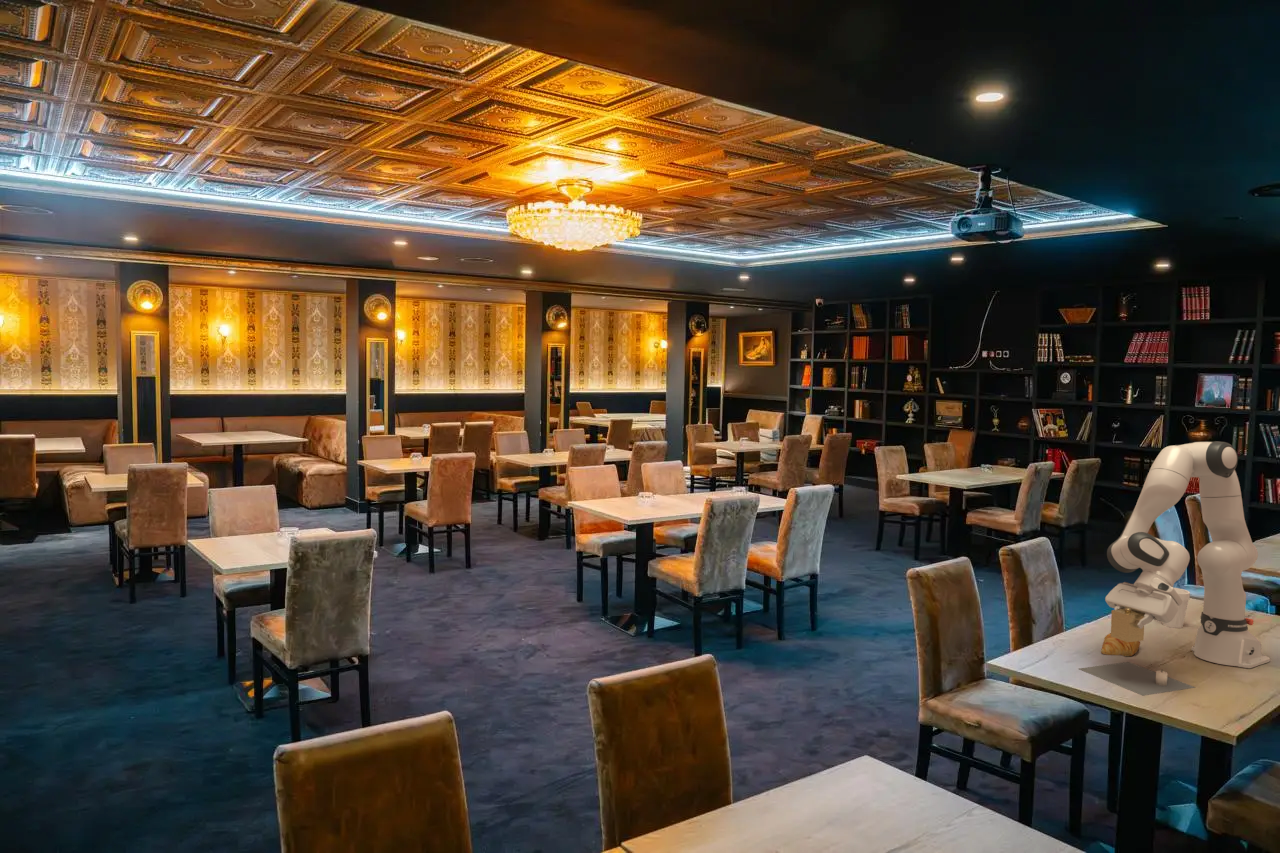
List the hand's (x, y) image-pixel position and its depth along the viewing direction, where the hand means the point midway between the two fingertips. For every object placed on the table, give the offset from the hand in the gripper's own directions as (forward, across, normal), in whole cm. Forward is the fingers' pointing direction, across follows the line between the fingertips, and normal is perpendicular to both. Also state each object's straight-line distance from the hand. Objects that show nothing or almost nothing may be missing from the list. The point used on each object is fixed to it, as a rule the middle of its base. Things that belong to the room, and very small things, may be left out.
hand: (1126, 623), depth 249 cm
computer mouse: (+7, +7, +16) cm, 19 cm away
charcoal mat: (+10, +1, +15) cm, 18 cm away
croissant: (-4, -21, +28) cm, 35 cm away
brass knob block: (+3, 0, +4) cm, 5 cm away
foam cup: (-36, -36, +59) cm, 78 cm away
